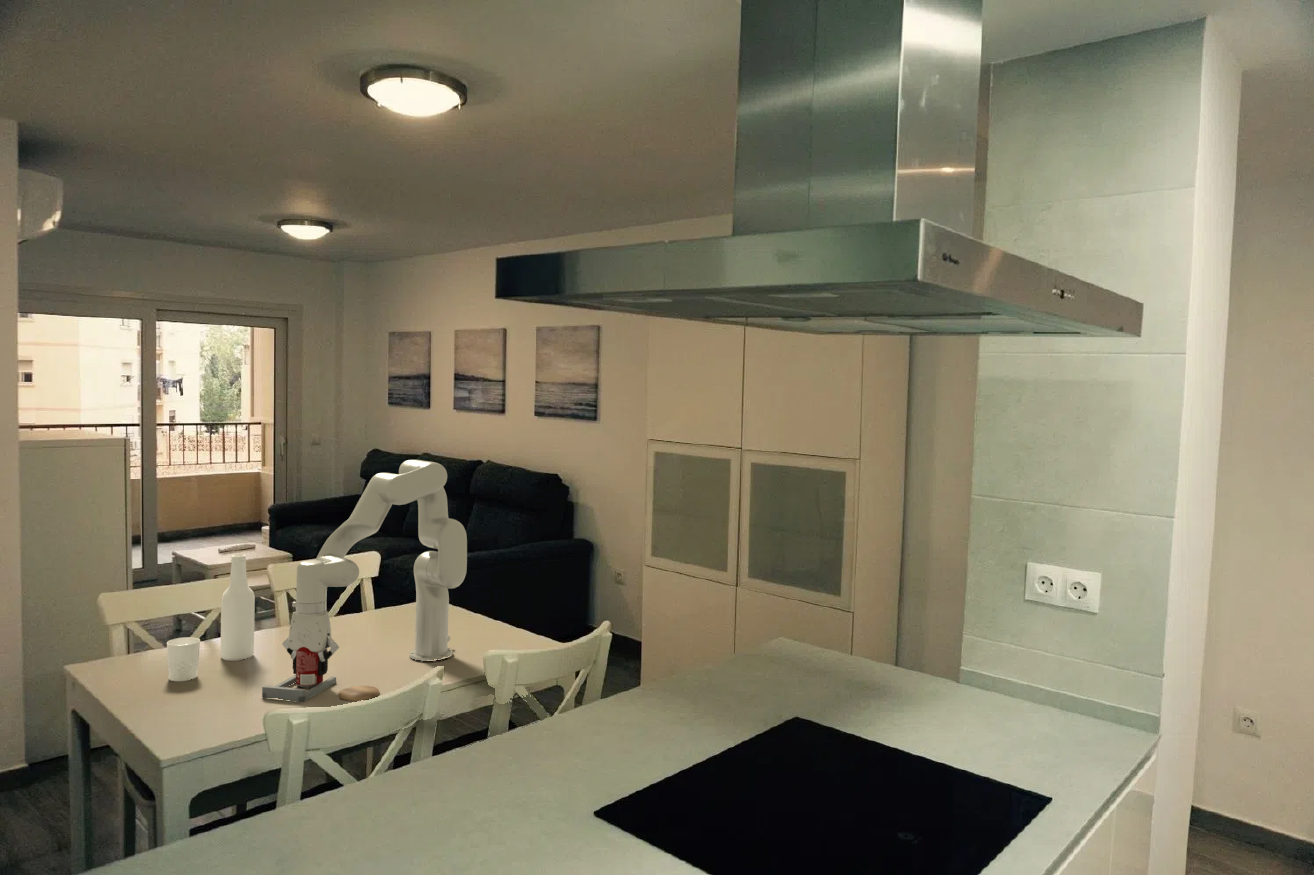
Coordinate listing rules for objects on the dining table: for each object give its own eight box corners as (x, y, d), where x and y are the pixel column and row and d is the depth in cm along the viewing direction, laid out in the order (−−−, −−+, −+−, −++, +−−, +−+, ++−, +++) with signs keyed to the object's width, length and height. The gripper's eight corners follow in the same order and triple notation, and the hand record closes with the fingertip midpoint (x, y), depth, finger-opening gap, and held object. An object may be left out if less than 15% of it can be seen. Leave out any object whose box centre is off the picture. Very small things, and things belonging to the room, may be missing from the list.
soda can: (316, 689, 227) (317, 644, 226) (291, 688, 227) (292, 643, 226) (326, 681, 233) (327, 637, 233) (302, 680, 234) (303, 636, 233)
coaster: (350, 686, 230) (350, 684, 230) (385, 689, 228) (385, 687, 228) (330, 699, 220) (330, 696, 220) (367, 702, 218) (367, 700, 218)
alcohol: (213, 659, 249) (214, 556, 247) (235, 651, 257) (237, 551, 256) (238, 662, 246) (240, 559, 245) (260, 654, 255) (262, 554, 253)
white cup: (165, 683, 227) (166, 646, 226) (166, 675, 234) (167, 638, 233) (199, 680, 231) (199, 643, 230) (199, 671, 237) (200, 635, 237)
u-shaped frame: (298, 678, 234) (298, 667, 234) (336, 682, 233) (336, 671, 233) (262, 698, 219) (262, 686, 219) (302, 702, 217) (302, 690, 217)
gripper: (273, 608, 227) (271, 675, 228) (333, 613, 224) (332, 680, 225) (289, 601, 234) (288, 666, 235) (348, 606, 232) (347, 672, 232)
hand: (310, 673), depth 230 cm, fingers closed on soda can, 6 cm apart
